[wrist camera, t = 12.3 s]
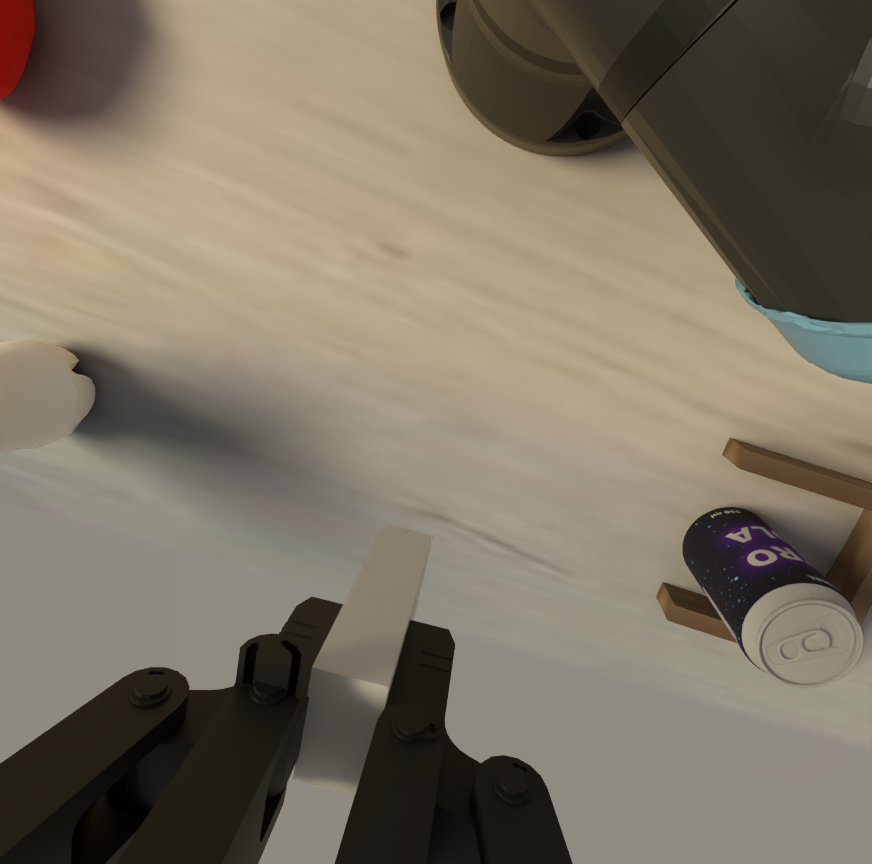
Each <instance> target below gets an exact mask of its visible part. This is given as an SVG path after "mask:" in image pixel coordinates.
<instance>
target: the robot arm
mask: <svg viewBox="0 0 872 864" xmlns="http://www.w3.org/2000/svg"><path fill="white" fill-rule="evenodd" d="M436 14H437V25H438V32H439V37H440V43H441V47H442V50H443V54H444V58H445V62H446V65H447V68H448V71H449V74H450V77H451V79H452V81H453V84H454V86H455V88H456V90H457V92H458V93H459V95H460V97H461V98H462V100H463V102H464V103H465V104H466V106H467V107H468V109H469V110H470V111H471V112H472V114H473V115H474V116H475V117H476V118H477V119H478V120H479V121H480V122H481V123H482V124H483V125H484V126H485V127H486V128H487V129H488V130H490V131H491V132H492V133H494V134H495V135H496V136H498V137H500V138H501V139H503V140H504V141H506V142H508V143H510V144H512V145H514V146H516V147H519V148H521V149H524V150H527V151H530V152H535V153H539V154H545V155H555V156H570V155H579V154H585V153H590V152H594V151H597V150H600V149H603V148H606V147H609V146H611V145H614V144H616V143H618V142H620V141H622V140H624V139H626V138H627V137H630V138H631V139H632V141H633V142H634V143H635V144H636V146H637V147H638V148H639V150H640V151H641V152H642V154H643V155H644V156H645V158H646V159H647V160H648V162H649V163H650V164H651V166H652V167H653V168H654V170H655V171H656V172H657V174H658V175H659V176H660V177H661V179H662V180H663V181H664V183H665V184H666V185H667V187H668V188H669V189H670V191H671V192H672V193H673V195H674V196H675V197H676V199H677V200H678V201H679V203H680V204H681V205H682V207H683V208H684V209H685V210H686V212H687V213H688V214H689V216H690V217H691V218H692V220H693V221H694V222H695V224H696V225H697V226H698V228H699V229H700V230H701V232H702V233H703V234H704V236H705V237H706V238H707V240H708V241H709V242H710V243H711V245H712V246H713V247H714V249H715V250H716V251H717V253H718V254H719V255H720V257H721V258H722V259H723V261H724V262H725V263H726V265H727V266H728V267H729V269H730V270H731V271H732V273H733V274H734V275H735V276H736V280H735V284H736V287H737V289H738V291H739V292H740V294H741V296H742V297H743V298H744V300H745V301H746V302H747V303H748V304H749V305H750V306H751V307H753V308H754V309H756V310H758V311H759V312H760V313H761V314H762V315H764V316H766V317H767V318H768V319H769V320H770V321H771V322H772V324H773V325H774V326H775V327H776V328H777V329H778V331H779V332H780V333H781V334H782V335H783V337H784V338H785V339H786V340H787V341H788V343H789V344H790V345H791V346H792V347H793V349H794V350H795V351H796V352H797V353H798V354H799V355H800V356H801V357H803V358H804V359H805V360H807V361H808V362H810V363H813V364H815V365H816V366H818V367H820V368H822V369H823V370H825V371H827V372H828V373H831V374H834V375H837V376H839V377H842V378H845V379H849V380H855V381H860V382H865V383H870V384H872V0H436ZM431 541H432V535H427V534H423V533H419V532H415V531H411V530H407V529H403V528H399V527H394V526H390V525H386V524H383V526H382V528H381V530H380V532H379V534H378V536H377V538H376V540H375V542H374V544H373V546H372V548H371V550H370V552H369V554H368V556H367V558H366V560H365V562H364V564H363V566H362V568H361V570H360V572H359V574H358V576H357V578H356V580H355V582H354V584H353V586H352V588H351V590H350V592H349V594H348V596H347V598H346V600H345V602H344V604H339V603H335V602H331V601H327V600H323V599H319V598H315V597H310V598H309V599H307V600H305V601H304V602H302V603H301V604H299V605H297V606H296V608H295V609H294V611H293V613H292V614H291V616H290V617H289V619H288V621H287V622H286V623H285V625H284V627H283V628H282V631H281V632H280V633H279V634H266V635H260V636H257V637H255V638H252V639H250V640H248V641H247V642H246V643H245V644H244V645H242V646H241V647H240V654H239V661H238V669H237V677H236V683H235V685H234V686H233V687H229V688H225V689H219V690H189V685H188V682H187V680H186V678H185V677H184V676H183V675H182V674H180V673H179V672H178V671H175V670H172V669H169V668H164V667H162V668H161V667H158V668H157V667H155V668H154V667H150V668H146V669H142V670H138V671H135V672H133V673H131V674H129V675H127V676H125V677H123V678H122V679H120V680H119V681H118V682H116V683H115V684H114V685H112V686H110V687H109V688H108V689H106V690H105V691H103V692H102V693H101V694H99V695H98V696H96V697H95V698H93V699H92V700H90V701H89V702H88V703H86V704H85V705H83V706H82V707H80V708H79V709H78V710H76V711H75V712H73V713H72V714H71V715H69V716H68V717H66V718H65V719H63V720H62V721H61V722H59V723H58V724H56V725H55V726H53V727H52V728H51V729H49V730H48V731H46V732H45V733H43V734H42V735H40V736H39V737H38V738H36V739H35V740H33V741H32V742H30V743H29V744H28V745H26V746H25V747H23V748H22V749H20V750H19V751H18V752H16V753H15V754H14V755H12V756H10V757H9V758H8V759H6V760H5V761H3V762H2V763H0V864H258V863H259V860H260V858H261V856H262V853H263V851H264V848H265V846H266V844H267V841H268V839H269V837H270V834H271V832H272V829H273V827H274V825H275V822H276V820H277V817H278V815H279V813H280V810H281V808H282V805H283V802H284V797H285V792H286V786H287V782H288V779H289V777H290V775H291V773H292V770H293V768H294V765H295V770H294V776H293V779H294V780H298V781H301V782H305V783H309V784H312V785H316V786H320V787H324V788H327V789H331V790H335V791H338V792H342V793H346V794H349V795H353V796H355V797H354V801H353V804H352V808H351V811H350V814H349V817H348V821H347V824H346V828H345V831H344V835H343V838H342V841H341V844H340V848H339V851H338V855H337V858H336V861H335V864H572V861H571V858H570V855H569V852H568V849H567V846H566V843H565V840H564V837H563V834H562V831H561V828H560V825H559V822H558V819H557V816H556V813H555V810H554V807H553V804H552V801H551V798H550V795H549V792H548V789H547V787H546V785H545V783H544V781H543V779H542V778H541V776H540V775H539V774H538V773H537V772H536V771H535V770H534V769H533V768H532V767H531V766H530V765H528V764H526V763H525V762H523V761H521V760H519V759H517V758H513V757H509V756H504V755H503V756H494V757H490V758H489V759H487V760H485V761H484V762H482V764H481V763H479V762H478V761H476V760H474V759H472V758H471V757H469V756H467V755H466V754H465V753H463V752H462V751H460V750H459V749H458V748H457V747H456V746H455V745H454V744H453V743H452V741H451V739H450V738H449V736H448V734H447V731H446V728H445V712H446V706H447V699H448V691H449V684H450V677H451V669H452V663H453V656H454V649H455V643H454V641H453V638H452V636H451V634H450V631H449V630H448V629H444V628H440V627H436V626H432V625H428V624H424V623H420V622H416V621H413V620H414V616H415V612H416V608H417V603H418V599H419V594H420V590H421V585H422V581H423V577H424V572H425V568H426V563H427V559H428V554H429V550H430V545H431ZM295 763H296V764H295Z"/></svg>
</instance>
